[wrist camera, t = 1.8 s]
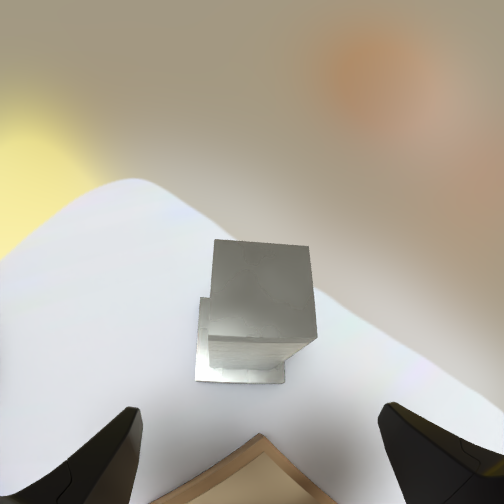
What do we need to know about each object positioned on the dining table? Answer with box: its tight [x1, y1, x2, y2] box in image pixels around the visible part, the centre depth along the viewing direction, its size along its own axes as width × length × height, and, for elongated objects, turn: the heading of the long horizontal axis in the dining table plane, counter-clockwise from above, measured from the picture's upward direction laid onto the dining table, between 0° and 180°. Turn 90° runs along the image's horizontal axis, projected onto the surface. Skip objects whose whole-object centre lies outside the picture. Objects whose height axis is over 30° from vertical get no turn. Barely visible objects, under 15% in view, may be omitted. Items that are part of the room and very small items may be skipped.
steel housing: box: [195, 239, 317, 384], centre depth 17 cm, size 6×6×11 cm
